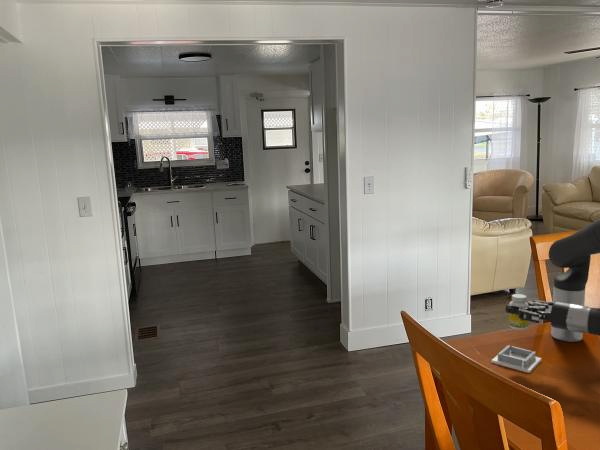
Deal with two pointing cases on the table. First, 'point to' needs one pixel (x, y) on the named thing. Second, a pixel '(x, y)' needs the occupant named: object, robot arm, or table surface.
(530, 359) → the caddy
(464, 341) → the table surface
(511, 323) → the supplement bottle
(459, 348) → the table surface
